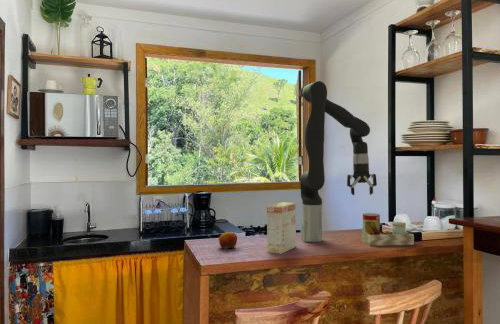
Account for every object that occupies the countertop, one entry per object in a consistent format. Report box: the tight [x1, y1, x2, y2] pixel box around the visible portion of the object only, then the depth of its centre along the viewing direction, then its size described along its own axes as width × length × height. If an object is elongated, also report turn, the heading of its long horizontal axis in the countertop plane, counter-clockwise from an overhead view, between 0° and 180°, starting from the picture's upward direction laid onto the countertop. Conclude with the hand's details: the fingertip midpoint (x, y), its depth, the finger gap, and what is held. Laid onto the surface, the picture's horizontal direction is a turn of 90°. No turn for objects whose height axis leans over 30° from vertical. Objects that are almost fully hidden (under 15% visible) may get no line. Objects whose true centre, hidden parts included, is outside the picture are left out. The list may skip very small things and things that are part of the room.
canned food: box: [362, 212, 381, 235], centre depth 178 cm, size 8×8×12 cm
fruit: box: [218, 231, 238, 250], centre depth 161 cm, size 8×8×8 cm
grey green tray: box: [361, 230, 415, 247], centre depth 169 cm, size 20×10×4 cm, turn 93°
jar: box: [391, 221, 407, 235], centre depth 170 cm, size 6×6×9 cm
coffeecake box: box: [266, 201, 297, 255], centre depth 158 cm, size 15×7×20 cm, turn 149°
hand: (362, 194), depth 186 cm, fingers open, 8 cm apart
